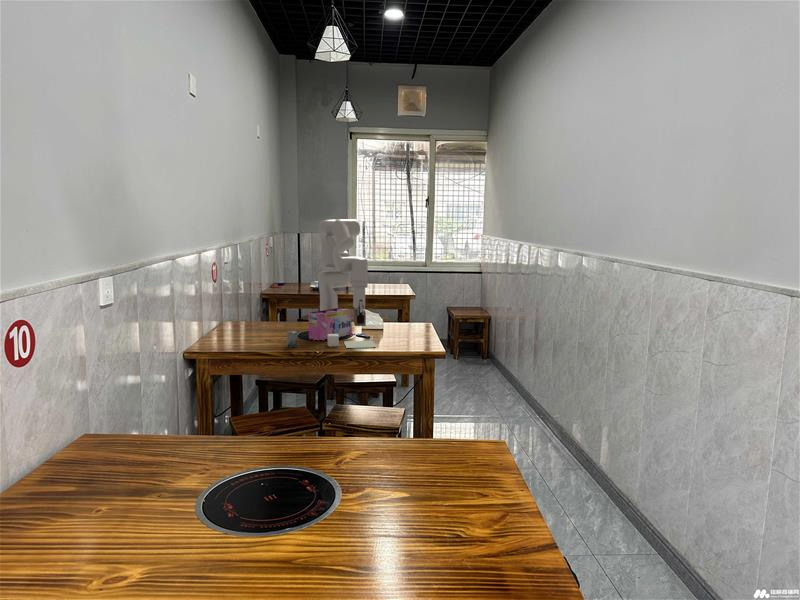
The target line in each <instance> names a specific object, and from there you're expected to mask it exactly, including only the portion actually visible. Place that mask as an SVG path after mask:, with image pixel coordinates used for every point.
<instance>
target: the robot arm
mask: <svg viewBox="0 0 800 600" xmlns="http://www.w3.org/2000/svg"><path fill="white" fill-rule="evenodd" d="M317 229H318V235H319V238H320V242H321V243H320V244H321V245H320V246H321V247H320V251H321V252H320V254H321V255H320V258H321V259H320V260H321V261H320V263H321V267H323V268H325V269H327V270H323V271H320V272H319V273H318V275H317V281H318V287H319V311H323V310H329V309H335V308H339V306H338V303H339V302H338V300H339V299H338V298H339V297H338V294H337V293H336V291H335V290H334V289H336V288H346V287H349V285H350V284H351V288H353V295H352V299H353V301H352V307H353V308H354V310H357V312H358V315H357V324H363V323H364V311H363V310H365V308H366V288H368V287H369V285H368V283H369V282H368V259H367V258H365V257H362V256H351V255H350V253H349V252H348V251H349V250H351V249H352V248H353V247H354V244H355V240H354V238H353V237H357V236H359V235H360V233H361V225H360V222H359V221H358V220H357V219H353V218H350V219H349V218H348V219H347V218H345V219H342V218H341V219H324V220H321V221H319V224H318V228H317ZM328 269H332V270H328ZM334 269H335V270H334Z"/></svg>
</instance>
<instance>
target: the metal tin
mask: <svg viewBox="0 0 800 600" xmlns="http://www.w3.org/2000/svg"><path fill="white" fill-rule="evenodd" d="M298 333H299V331H297V330H287V331H286V347H287V346H288V347H287V348H289V347H295V346H298V347H299V339H298V338H299V335H298ZM295 348H296V347H295Z"/></svg>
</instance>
